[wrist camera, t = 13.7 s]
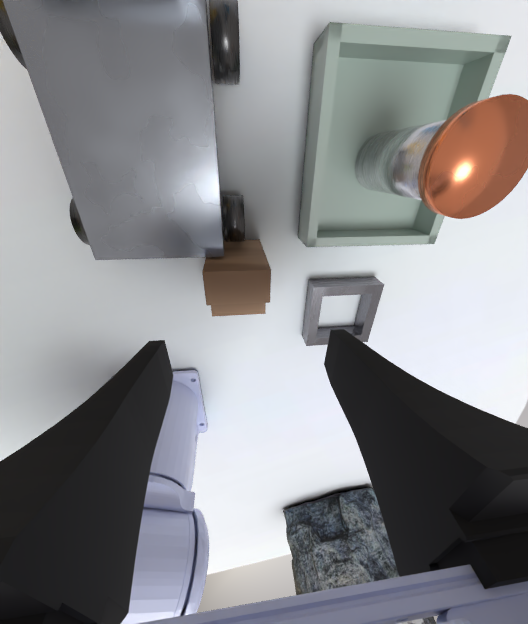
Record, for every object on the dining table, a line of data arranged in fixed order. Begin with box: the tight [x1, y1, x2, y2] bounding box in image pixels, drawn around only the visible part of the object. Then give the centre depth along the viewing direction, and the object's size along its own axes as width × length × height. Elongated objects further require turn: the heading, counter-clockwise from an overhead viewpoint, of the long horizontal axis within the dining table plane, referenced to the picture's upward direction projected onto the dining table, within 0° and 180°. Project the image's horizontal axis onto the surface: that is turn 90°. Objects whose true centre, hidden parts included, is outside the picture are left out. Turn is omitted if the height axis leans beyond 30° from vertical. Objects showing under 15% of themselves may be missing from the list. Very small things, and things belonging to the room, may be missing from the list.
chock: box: [203, 239, 271, 316], centre depth 17 cm, size 4×4×6 cm
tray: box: [298, 22, 511, 247], centre depth 15 cm, size 10×9×2 cm
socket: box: [302, 277, 384, 346], centre depth 22 cm, size 6×6×2 cm
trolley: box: [0, 0, 245, 260], centre depth 12 cm, size 11×10×7 cm
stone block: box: [283, 488, 436, 624], centre depth 35 cm, size 18×9×20 cm, turn 97°
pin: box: [355, 94, 528, 219], centre depth 13 cm, size 4×4×8 cm
